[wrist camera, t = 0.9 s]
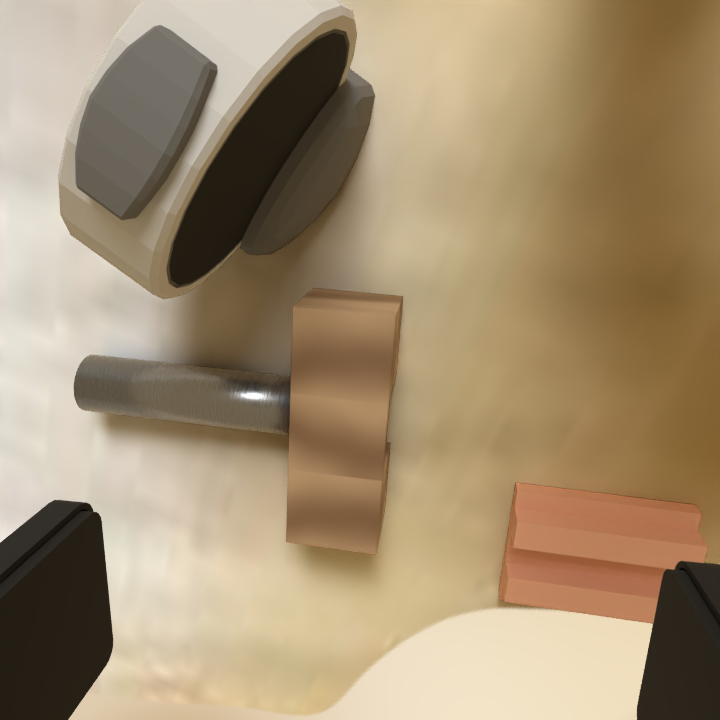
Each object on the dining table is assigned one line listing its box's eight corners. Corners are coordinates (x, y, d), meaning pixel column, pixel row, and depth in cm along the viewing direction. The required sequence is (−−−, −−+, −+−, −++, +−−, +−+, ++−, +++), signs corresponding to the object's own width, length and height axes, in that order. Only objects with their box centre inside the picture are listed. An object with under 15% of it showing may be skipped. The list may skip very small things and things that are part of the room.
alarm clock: (270, 292, 42) (142, 382, 25) (145, 200, 41) (-77, 227, 24) (415, 77, 36) (381, 0, 19) (274, -32, 36) (109, -213, 19)
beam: (313, 288, 41) (292, 306, 36) (403, 296, 40) (395, 316, 35) (305, 498, 46) (286, 542, 41) (384, 509, 45) (375, 554, 40)
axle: (106, 400, 46) (75, 418, 42) (104, 349, 45) (72, 362, 41) (370, 431, 44) (362, 453, 40) (374, 378, 43) (367, 395, 39)
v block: (515, 482, 43) (520, 504, 40) (695, 504, 42) (712, 529, 39) (498, 589, 46) (501, 617, 43) (666, 613, 45) (681, 643, 42)
